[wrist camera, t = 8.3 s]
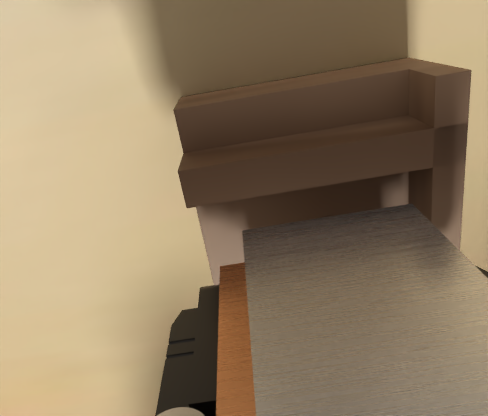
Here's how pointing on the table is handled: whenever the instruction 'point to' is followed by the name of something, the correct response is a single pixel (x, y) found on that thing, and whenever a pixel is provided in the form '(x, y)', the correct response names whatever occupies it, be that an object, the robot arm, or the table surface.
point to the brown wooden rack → (325, 150)
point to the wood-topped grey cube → (352, 321)
